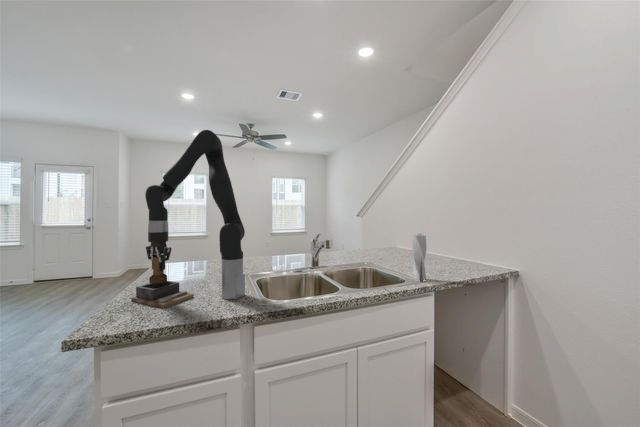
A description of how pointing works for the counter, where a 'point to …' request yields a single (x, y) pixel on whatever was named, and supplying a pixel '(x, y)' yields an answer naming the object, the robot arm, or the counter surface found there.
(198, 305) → the counter surface
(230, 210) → the robot arm
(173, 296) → the socket board
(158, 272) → the brown wooden chess pawn
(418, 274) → the skyscraper
